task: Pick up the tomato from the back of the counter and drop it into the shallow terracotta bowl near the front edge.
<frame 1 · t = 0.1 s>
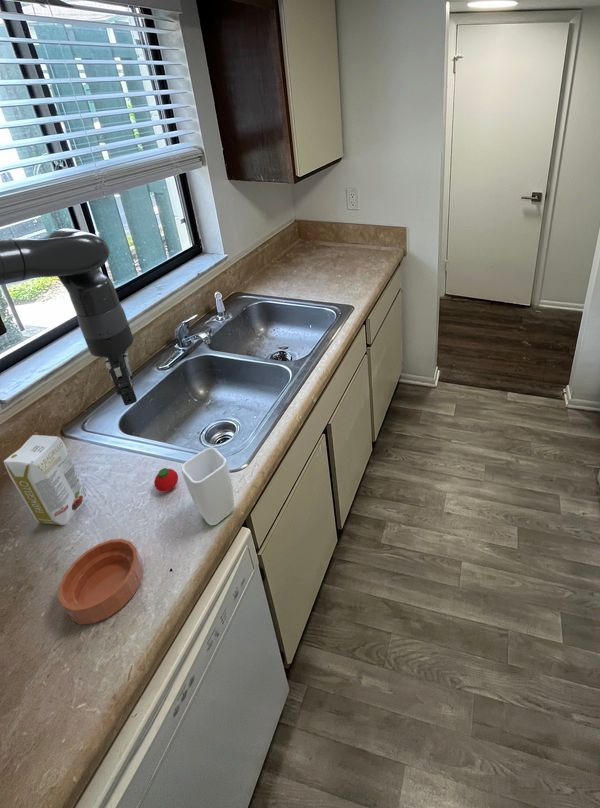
hand: (129, 391, 92), 26 cm above the worktop, tool pointing down, fingers open, 8 cm apart
bowl: (107, 587, 82), on the worktop
tomato: (168, 487, 101), on the worktop
cup: (218, 512, 96), on the worktop
juice carton: (65, 510, 97), on the worktop
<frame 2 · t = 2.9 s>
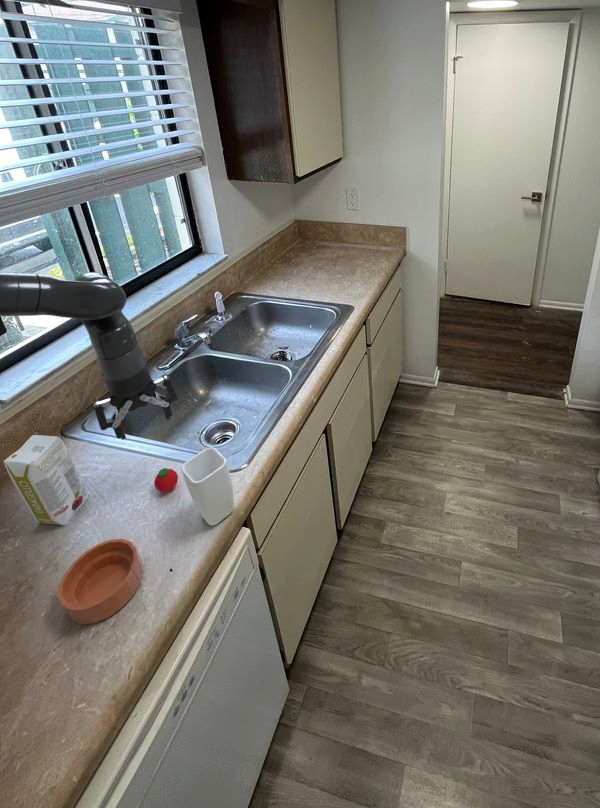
hand: (146, 427, 94), 18 cm above the worktop, tool pointing down, fingers open, 8 cm apart
nothing on the worktop moved.
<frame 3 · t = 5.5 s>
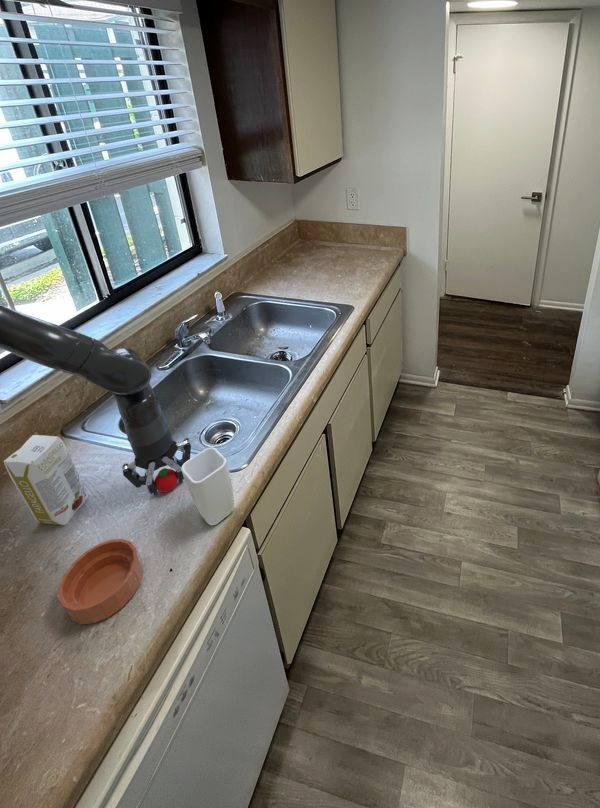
hand: (168, 485, 101), 1 cm above the worktop, tool pointing down, fingers closed on tomato, 4 cm apart
tomato: (168, 487, 101), on the worktop, touching gripper
everything else where it was.
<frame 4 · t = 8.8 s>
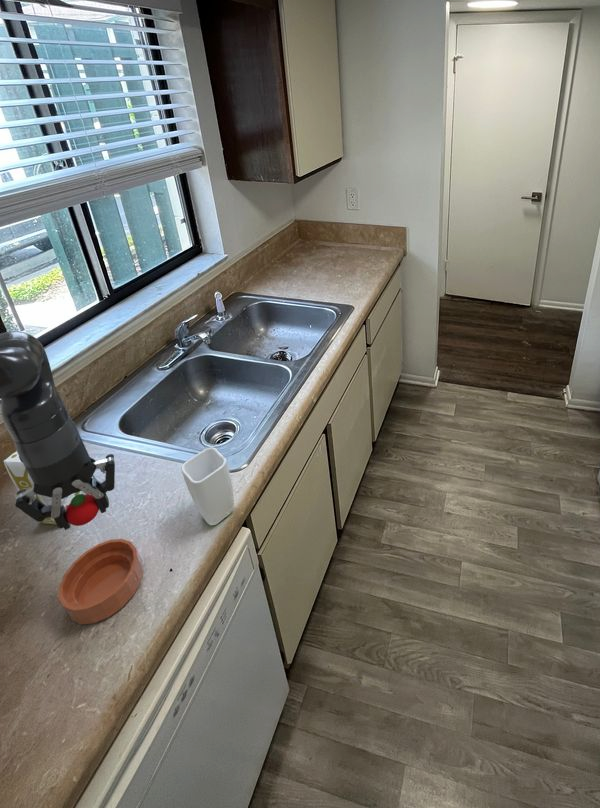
hand: (85, 516, 77), 17 cm above the worktop, tool pointing down, fingers closed on tomato, 4 cm apart
tomato: (87, 518, 77), point 16 cm above the worktop, touching gripper
everything else where it was.
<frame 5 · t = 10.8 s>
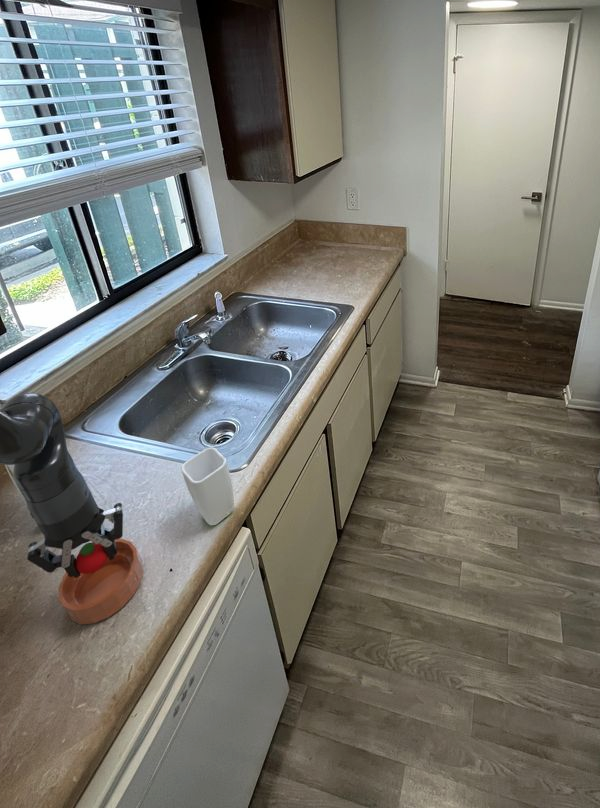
hand: (95, 563, 79), 7 cm above the worktop, tool pointing down, fingers closed on tomato, 4 cm apart
tomato: (96, 565, 79), point 7 cm above the worktop, touching gripper
everything else where it was.
when the fingers open (4 cm above the worktop, at t = 12.4 s): tomato drops 2 cm, resting on bowl.
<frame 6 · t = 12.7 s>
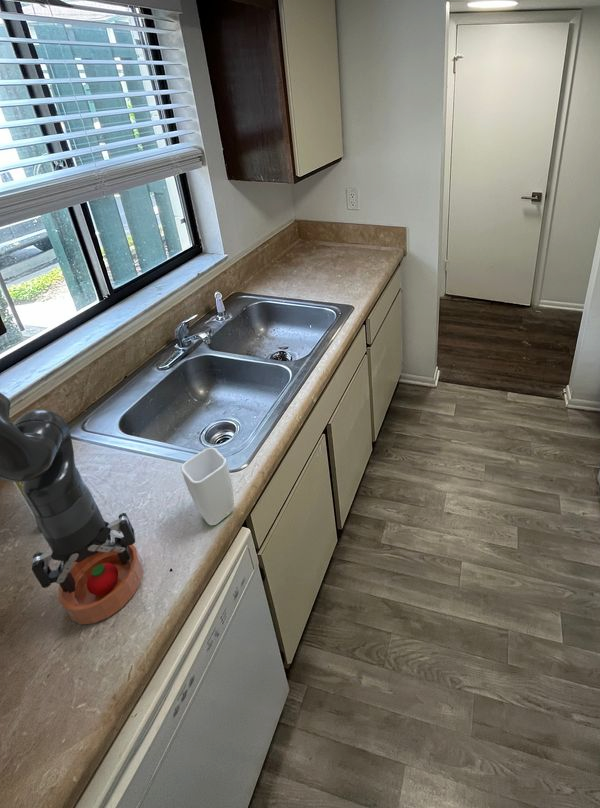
hand: (99, 573, 80), 5 cm above the worktop, tool pointing down, fingers open, 7 cm apart
tomato: (106, 586, 82), resting on bowl
everything else where it was.
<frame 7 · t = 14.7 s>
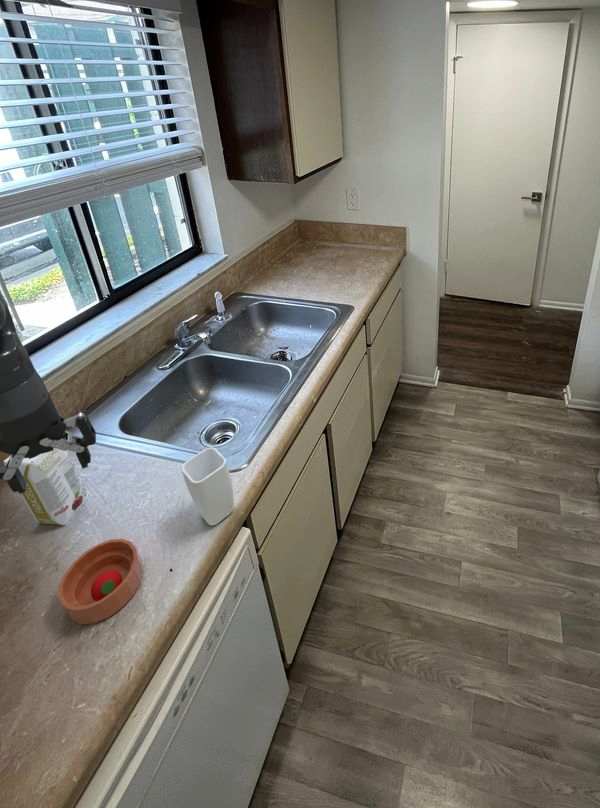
hand: (55, 476, 74), 26 cm above the worktop, tool pointing down, fingers open, 8 cm apart
tomato: (105, 584, 81), point 1 cm above the worktop, tilted 48°, touching bowl
everything else where it was.
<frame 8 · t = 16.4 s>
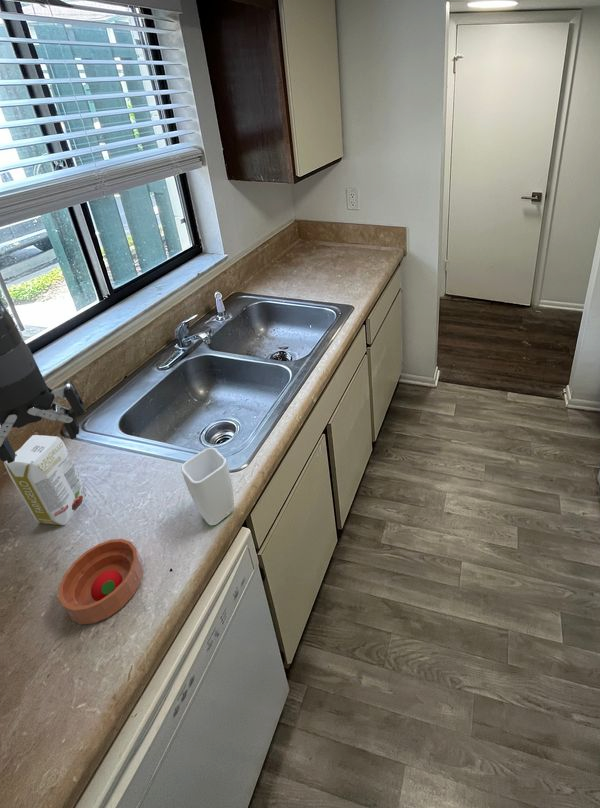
hand: (43, 447, 75), 30 cm above the worktop, tool pointing down, fingers open, 8 cm apart
nothing on the worktop moved.
at the end: tomato inside the target area in the bowl (0.2 cm from its centre), point 1.3 cm above the bowl's base; the gripper is holding nothing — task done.
